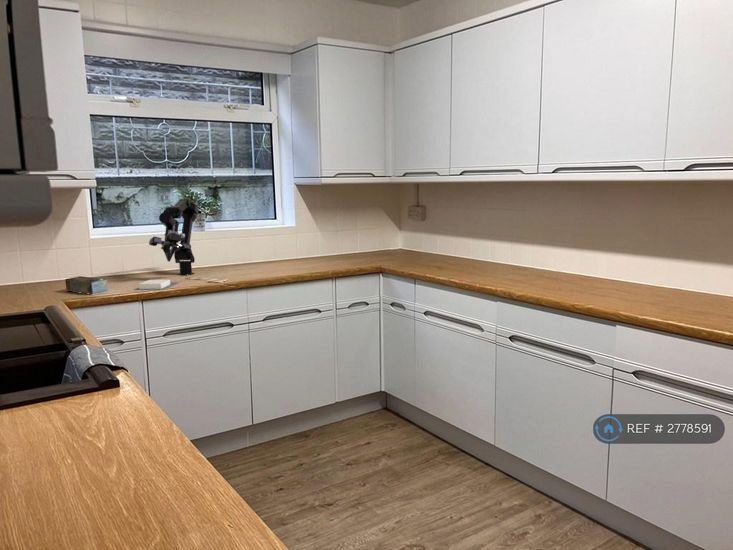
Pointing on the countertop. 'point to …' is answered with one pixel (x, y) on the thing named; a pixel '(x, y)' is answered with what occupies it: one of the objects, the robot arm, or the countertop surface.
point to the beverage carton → (86, 285)
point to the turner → (207, 279)
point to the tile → (154, 284)
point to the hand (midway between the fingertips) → (168, 261)
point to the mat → (163, 288)
